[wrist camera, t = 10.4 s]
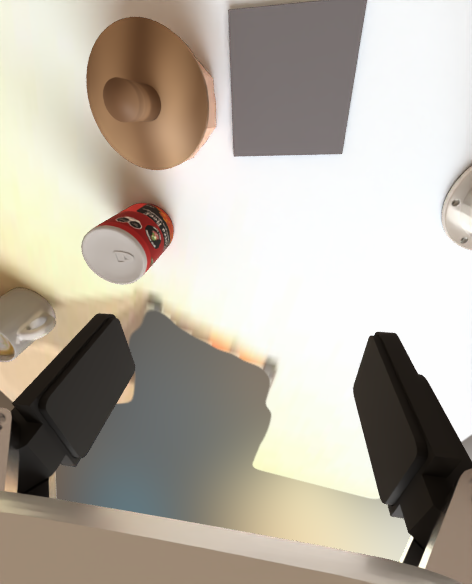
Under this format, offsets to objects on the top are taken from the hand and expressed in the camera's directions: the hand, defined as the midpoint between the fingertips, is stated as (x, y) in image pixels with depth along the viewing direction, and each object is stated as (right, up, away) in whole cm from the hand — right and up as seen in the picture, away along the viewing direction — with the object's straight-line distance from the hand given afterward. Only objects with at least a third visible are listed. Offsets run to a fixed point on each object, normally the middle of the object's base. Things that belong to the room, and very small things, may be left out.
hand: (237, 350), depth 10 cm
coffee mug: (-40, -1, +45) cm, 60 cm away
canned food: (-13, +12, +31) cm, 36 cm away
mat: (+6, +25, +19) cm, 32 cm away
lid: (-9, +21, +17) cm, 28 cm away
